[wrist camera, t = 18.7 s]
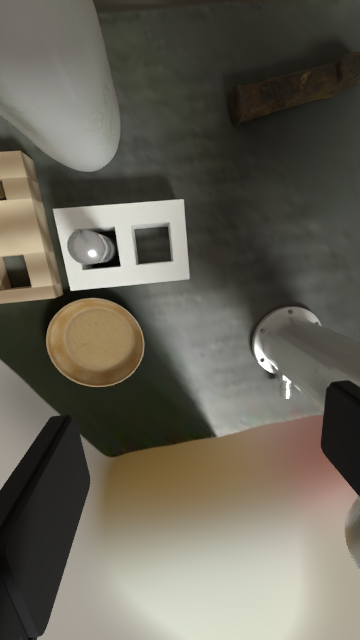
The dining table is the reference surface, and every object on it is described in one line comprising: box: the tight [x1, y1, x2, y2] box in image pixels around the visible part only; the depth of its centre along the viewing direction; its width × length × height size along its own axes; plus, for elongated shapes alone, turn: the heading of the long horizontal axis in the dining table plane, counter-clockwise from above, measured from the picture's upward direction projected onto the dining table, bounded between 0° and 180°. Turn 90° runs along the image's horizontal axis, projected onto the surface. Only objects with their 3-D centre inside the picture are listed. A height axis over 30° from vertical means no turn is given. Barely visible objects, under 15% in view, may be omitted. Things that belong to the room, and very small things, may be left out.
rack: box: [53, 199, 190, 291], centre depth 32 cm, size 10×16×5 cm, turn 95°
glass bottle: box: [0, 0, 120, 172], centre depth 17 cm, size 10×10×28 cm
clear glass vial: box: [67, 229, 119, 264], centre depth 29 cm, size 4×4×11 cm
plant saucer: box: [46, 298, 144, 387], centre depth 37 cm, size 15×15×3 cm
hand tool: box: [229, 52, 360, 126], centre depth 30 cm, size 19×4×5 cm, turn 103°
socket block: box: [0, 151, 64, 304], centre depth 31 cm, size 18×10×3 cm, turn 5°
